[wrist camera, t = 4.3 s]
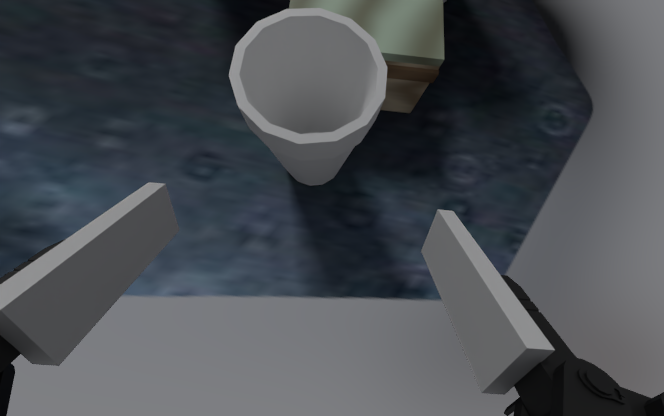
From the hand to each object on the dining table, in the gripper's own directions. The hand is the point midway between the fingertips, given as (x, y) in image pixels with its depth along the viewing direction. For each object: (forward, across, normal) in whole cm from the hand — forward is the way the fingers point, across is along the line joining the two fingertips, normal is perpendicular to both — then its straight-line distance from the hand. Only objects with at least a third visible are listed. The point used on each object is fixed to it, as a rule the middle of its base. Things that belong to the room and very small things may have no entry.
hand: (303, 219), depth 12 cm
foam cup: (+16, -1, -3) cm, 16 cm away
